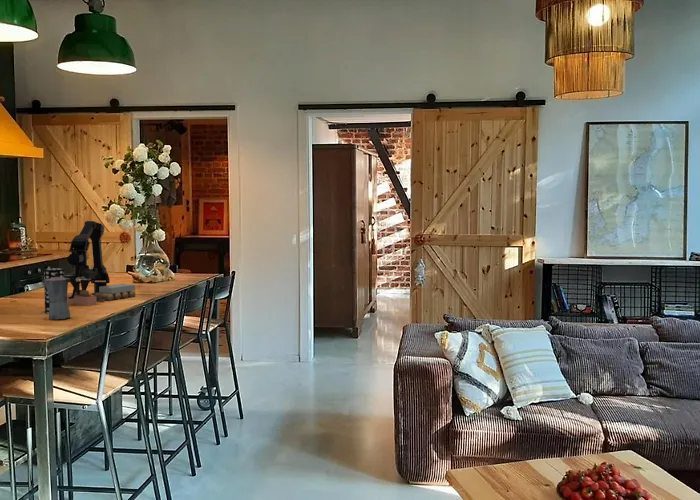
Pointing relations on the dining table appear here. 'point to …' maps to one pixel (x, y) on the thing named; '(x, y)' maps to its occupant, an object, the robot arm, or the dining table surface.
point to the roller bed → (113, 296)
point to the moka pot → (59, 296)
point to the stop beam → (82, 300)
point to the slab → (116, 288)
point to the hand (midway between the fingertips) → (80, 294)
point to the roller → (83, 293)
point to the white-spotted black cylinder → (47, 275)
